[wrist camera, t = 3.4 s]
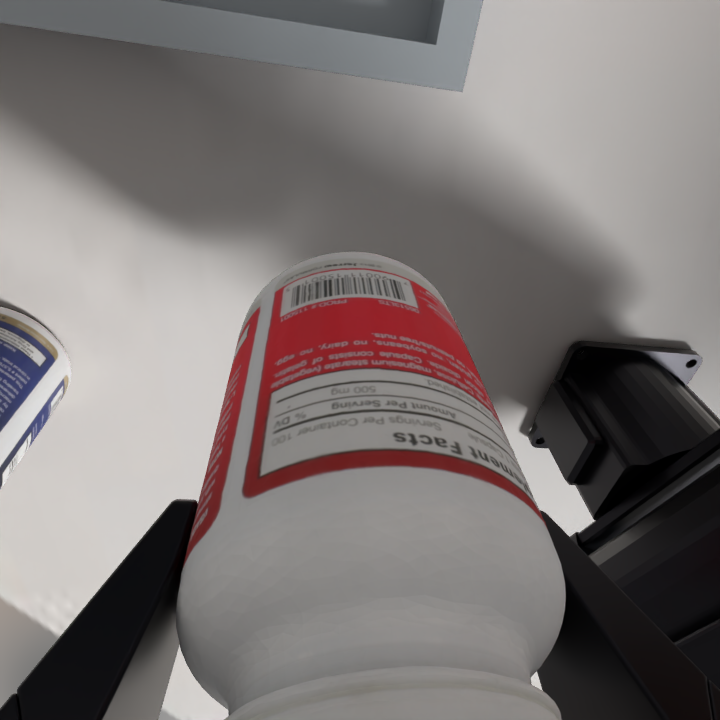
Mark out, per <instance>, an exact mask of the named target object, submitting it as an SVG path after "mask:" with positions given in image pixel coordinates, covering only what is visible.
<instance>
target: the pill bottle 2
mask: <svg viewBox="0 0 720 720" xmlns="http://www.w3.org/2000/svg"><path fill="white" fill-rule="evenodd" d="M565 602H566V591H565V580H564V575H563V571H562V566H561V563H560V560H559V557H558V555H557V552H556V550H555V547H554V545H553V542H552V539H551V537H550V534H549V532H548V529H547V526H546V523H545V521H544V519H543V517H542V515H541V513H540V510H539V508H538V506H537V504H536V502H535V500H534V498H533V495H532V493H531V491H530V488H529V486H528V483H527V481H526V479H525V477H524V475H523V473H522V471H521V468H520V466H519V464H518V462H517V459H516V457H515V454H514V451H513V449H512V448H511V446H510V444H509V441H508V439H507V437H506V434H505V432H504V430H503V427H502V425H501V423H500V421H499V418H498V416H497V414H496V412H495V410H494V407H493V404H492V402H491V400H490V398H489V396H488V394H487V391H486V389H485V387H484V385H483V383H482V380H481V378H480V376H479V374H478V371H477V369H476V367H475V365H474V363H473V360H472V358H471V356H470V354H469V352H468V349H467V347H466V345H465V343H464V341H463V338H462V336H461V334H460V331H459V329H458V327H457V325H456V323H455V321H454V318H453V316H452V314H451V313H450V311H449V309H448V307H447V305H446V303H445V301H444V300H443V298H442V296H441V295H440V293H439V292H438V291H437V290H436V289H435V287H434V286H433V285H432V284H431V283H430V282H429V281H428V280H427V279H425V278H424V277H423V276H422V275H421V274H419V273H418V272H417V271H415V270H414V269H412V268H411V267H409V266H407V265H405V264H403V263H401V262H399V261H396V260H394V259H391V258H388V257H385V256H382V255H377V254H373V253H368V252H338V253H330V254H325V255H320V256H316V257H313V258H310V259H307V260H305V261H302V262H300V263H298V264H296V265H294V266H292V267H290V268H289V269H287V270H285V271H284V272H283V273H281V274H280V275H278V276H277V277H276V278H274V279H273V280H272V281H271V282H270V283H269V284H268V285H267V286H266V287H265V288H264V289H263V290H262V291H261V292H260V293H259V295H258V296H257V297H256V299H255V300H254V302H253V303H252V305H251V307H250V309H249V311H248V313H247V315H246V317H245V320H244V323H243V325H242V329H241V332H240V335H239V339H238V343H237V347H236V351H235V356H234V360H233V364H232V368H231V372H230V376H229V380H228V385H227V389H226V393H225V397H224V401H223V405H222V409H221V413H220V418H219V422H218V426H217V430H216V434H215V438H214V442H213V447H212V450H211V454H210V458H209V463H208V467H207V471H206V475H205V479H204V483H203V487H202V490H201V494H200V498H199V502H198V507H197V511H196V515H195V520H194V524H193V527H192V531H191V535H190V540H189V543H188V547H187V553H186V556H185V560H184V565H183V570H182V573H181V580H180V586H179V591H178V597H177V607H176V630H177V634H178V639H179V643H180V648H181V651H182V654H183V656H184V658H185V661H186V663H187V665H188V667H189V669H190V671H191V672H192V674H193V676H194V677H195V679H196V680H197V681H198V683H199V684H200V685H201V686H202V688H203V689H204V690H205V691H206V692H207V693H208V694H209V695H210V696H211V697H212V698H214V699H215V700H216V701H217V702H219V703H220V704H221V705H222V706H224V707H225V708H226V709H228V710H229V716H228V717H227V718H226V719H224V720H562V719H561V713H560V711H559V709H558V707H557V705H556V703H555V702H554V701H553V700H552V699H551V698H550V697H549V696H548V695H547V694H546V693H545V692H544V691H542V690H540V689H538V688H537V687H535V686H533V685H532V684H531V676H532V675H533V674H534V673H535V672H536V671H537V670H538V669H539V668H540V667H541V666H542V664H543V662H544V661H545V659H546V658H547V656H548V655H549V653H550V652H551V650H552V648H553V646H554V644H555V642H556V640H557V638H558V635H559V632H560V629H561V626H562V622H563V617H564V612H565Z"/></svg>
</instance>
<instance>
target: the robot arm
mask: <svg viewBox="0 0 720 720" xmlns="http://www.w3.org/2000/svg"><path fill="white" fill-rule="evenodd" d="M581 351H583V352H582V353H581V354H578V353H579V352H581ZM577 354H578V355H577ZM688 361H689V362H688ZM701 363H702V358H701V356H700V355H699V354H697V353H696V352H695V351H693V350H683V349H671V348H659V347H647V346H635V345H623V344H611V343H600V342H588V341H579V342H576V343H574V344H573V345H572V346H571V347H570V348H569V350H568V352H567V354H566V356H565V358H564V361H563V363H562V365H561V367H560V369H559V371H558V374H557V376H556V378H555V380H554V382H553V383H552V384H551V386H550V388H549V391H548V393H547V395H546V397H545V399H544V401H543V403H542V406H541V408H540V410H539V412H538V414H537V416H536V419H535V423H534V425H533V427H532V429H531V432H530V434H529V437H528V438H529V440H530V442H531V445H532V446H533V447H536V448H549V450H550V452H551V453H552V455H553V457H554V459H555V461H556V463H557V465H558V467H559V469H560V471H561V473H562V475H563V477H564V479H565V480H566V481H567V483H568V484H569V485H576V487H577V489H578V491H579V493H580V495H581V497H582V498H583V500H584V502H585V504H586V506H587V508H588V510H589V512H590V513H591V515H592V517H593V519H594V520H596V521H594V522H593V523H592V524H590V525H589V526H588V527H586V528H585V529H584V530H582V531H581V532H580V533H579V532H576V533H574V534H573V535H572V536H570V537H569V536H568V535H567V534H566V533H565V532H564V531H563V530H562V529H561V528H560V527H559V526H558V525H557V524H556V523H555V522H554V521H553V520H552V519H551V518H550V517H549V516H548V515H547V514H546V513H545V512H543V511H540V513H541V515H542V517H543V519H544V521H545V523H546V526H547V529H548V532H549V534H550V537H551V539H552V542H553V545H554V547H555V550H556V552H557V555H558V557H559V560H560V563H561V566H562V571H563V575H564V580H565V591H566V602H565V612H564V617H563V622H562V626H561V629H560V632H559V635H558V638H557V640H556V642H555V644H554V646H553V648H552V650H551V652H550V653H549V655H548V656H547V658H546V659H545V661H544V662H543V664H542V666H541V667H540V668H539V669H538V670H537V673H538V676H539V679H540V683H541V686H542V690H543V691H544V692H545V693H546V694H547V695H548V696H549V697H550V698H551V699H552V700H553V701H554V702H555V703H556V705H557V707H558V709H559V711H560V713H561V719H562V720H720V419H719V418H718V417H717V416H716V415H715V414H714V413H713V412H712V411H711V410H710V409H709V408H708V407H707V406H706V405H705V404H704V403H703V402H702V401H701V400H700V399H699V398H698V396H697V395H696V394H695V393H694V392H693V391H692V390H691V389H690V388H689V387H688V386H687V384H688V383H689V381H690V380H691V378H692V377H693V375H694V374H695V372H696V371H697V369H698V368H699V367H700V365H701ZM538 438H539V439H538ZM197 507H198V503H197V501H196V500H187V499H176V500H174V501H173V502H171V503H170V505H169V506H168V507H167V508H166V509H165V511H164V512H163V513H162V514H161V515H160V517H159V518H158V519H157V520H156V521H155V523H154V524H153V525H152V526H151V528H150V529H149V530H148V531H147V532H146V534H145V535H144V536H143V537H142V538H141V540H140V541H139V542H138V543H137V544H136V546H135V547H134V548H133V549H132V550H131V552H130V553H129V554H128V555H127V556H126V558H125V559H124V560H123V561H122V563H121V564H120V565H119V566H118V567H117V569H116V570H115V571H114V572H113V573H112V575H111V576H110V577H109V578H108V579H107V581H106V582H105V583H104V584H103V585H102V587H101V588H100V589H99V590H98V592H97V593H96V594H95V595H94V596H93V598H92V599H91V600H90V601H89V602H88V604H87V605H86V606H85V607H84V608H83V610H82V611H81V612H80V613H79V614H78V616H77V617H76V618H75V619H74V621H73V622H72V623H71V624H70V625H69V627H68V628H67V629H66V630H65V631H64V633H63V634H62V635H61V636H60V637H59V639H58V640H57V641H56V642H55V644H54V645H53V646H52V647H51V648H50V649H49V651H48V652H47V653H46V654H45V656H44V657H43V658H42V659H41V660H40V662H39V663H38V664H37V665H36V667H35V668H34V669H33V670H32V671H31V673H30V674H29V675H28V676H27V677H26V679H25V680H24V681H23V682H22V683H21V685H20V686H19V687H18V689H17V694H16V693H14V694H12V695H11V696H10V697H9V699H8V700H7V701H6V702H5V703H4V705H3V706H2V707H1V708H0V720H158V718H159V715H160V711H161V708H162V704H163V701H164V697H165V694H166V690H167V686H168V683H169V679H170V676H171V672H172V669H173V665H174V662H175V658H176V655H177V651H178V648H179V644H180V643H179V639H178V634H177V630H176V607H177V597H178V591H179V586H180V580H181V573H182V570H183V565H184V560H185V556H186V553H187V547H188V543H189V540H190V535H191V531H192V527H193V524H194V520H195V515H196V511H197Z"/></svg>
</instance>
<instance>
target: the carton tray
mask: <svg viewBox="0 0 720 720" xmlns="http://www.w3.org/2000/svg"><path fill="white" fill-rule="evenodd" d="M482 3H483V0H0V23H4V24H11V25H17V26H24V27H31V28H37V29H44V30H51V31H58V32H64V33H71V34H78V35H84V36H91V37H98V38H104V39H111V40H118V41H124V42H131V43H138V44H144V45H151V46H158V47H164V48H171V49H178V50H185V51H191V52H198V53H205V54H211V55H218V56H225V57H231V58H238V59H245V60H251V61H258V62H265V63H271V64H278V65H285V66H292V67H298V68H305V69H312V70H318V71H325V72H332V73H338V74H345V75H352V76H358V77H365V78H372V79H378V80H385V81H392V82H399V83H405V84H412V85H419V86H425V87H432V88H439V89H445V90H452V91H459V92H463V87H464V83H465V78H466V74H467V70H468V65H469V61H470V56H471V52H472V47H473V43H474V39H475V34H476V30H477V25H478V21H479V17H480V12H481V8H482Z"/></svg>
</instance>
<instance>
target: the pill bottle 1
mask: <svg viewBox="0 0 720 720" xmlns="http://www.w3.org/2000/svg"><path fill="white" fill-rule="evenodd" d="M71 376H72V370H71V364H70V360H69V357H68V355H67V353H66V351H65V349H64V348H63V346H62V345H61V344H60V342H59V341H58V340H57V339H56V338H55V337H54V336H53V334H52V333H50V332H49V331H48V330H47V329H46V328H45V327H43V326H42V325H41V324H39V323H38V322H36V321H35V320H33V319H31V318H29V317H28V316H26V315H24V314H21V313H19V312H17V311H14V310H11V309H8V308H4V307H0V490H1V488H2V487H3V485H4V484H5V482H6V481H7V479H8V478H9V476H10V475H11V473H12V472H13V470H14V469H15V467H16V466H17V465H18V463H19V462H20V460H21V459H22V457H23V456H24V454H25V453H26V451H27V450H28V448H29V447H30V445H31V444H32V442H33V441H34V439H35V438H36V436H37V435H38V433H39V432H40V430H41V429H42V428H43V426H44V425H45V423H46V422H47V420H48V419H49V417H50V416H51V414H52V413H53V411H54V410H55V408H56V407H57V405H58V404H59V402H60V401H61V399H62V398H63V396H64V394H65V392H66V391H67V389H68V387H69V384H70V381H71Z"/></svg>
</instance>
